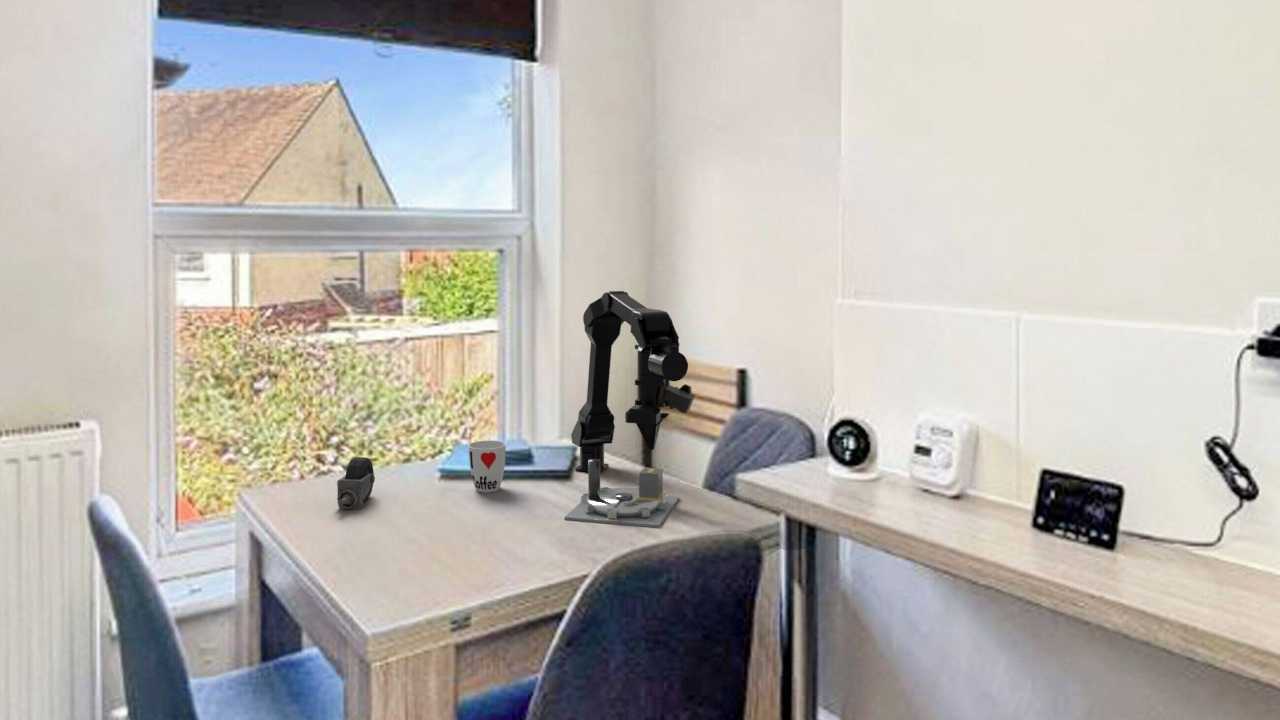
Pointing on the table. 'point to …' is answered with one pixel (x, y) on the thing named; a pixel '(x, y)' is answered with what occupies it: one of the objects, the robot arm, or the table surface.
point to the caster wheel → (356, 483)
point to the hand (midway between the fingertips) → (651, 449)
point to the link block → (650, 483)
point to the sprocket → (617, 498)
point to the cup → (487, 464)
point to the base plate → (650, 521)
